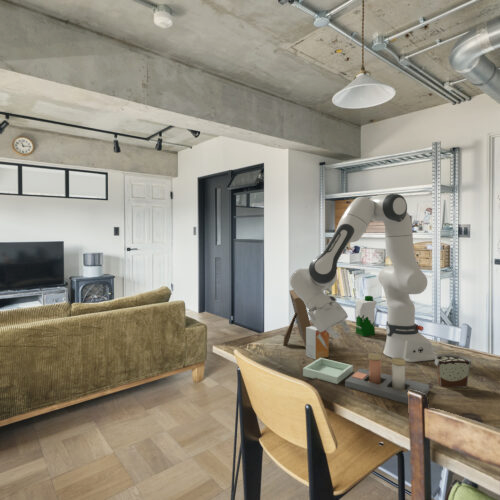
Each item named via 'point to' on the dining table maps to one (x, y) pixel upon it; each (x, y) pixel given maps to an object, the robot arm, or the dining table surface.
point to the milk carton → (365, 316)
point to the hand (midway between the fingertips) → (343, 334)
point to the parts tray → (327, 370)
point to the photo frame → (298, 318)
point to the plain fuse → (398, 373)
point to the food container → (452, 370)
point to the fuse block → (383, 386)
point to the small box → (316, 343)
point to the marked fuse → (375, 368)
